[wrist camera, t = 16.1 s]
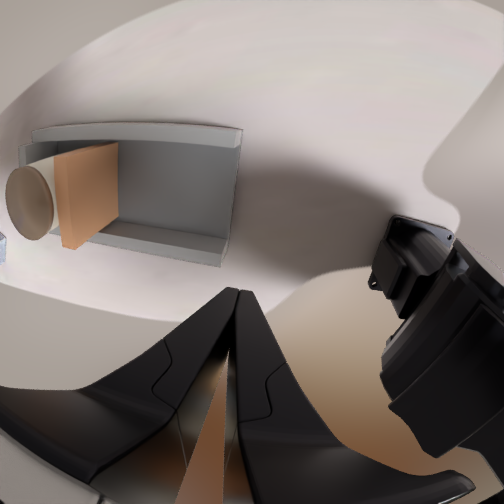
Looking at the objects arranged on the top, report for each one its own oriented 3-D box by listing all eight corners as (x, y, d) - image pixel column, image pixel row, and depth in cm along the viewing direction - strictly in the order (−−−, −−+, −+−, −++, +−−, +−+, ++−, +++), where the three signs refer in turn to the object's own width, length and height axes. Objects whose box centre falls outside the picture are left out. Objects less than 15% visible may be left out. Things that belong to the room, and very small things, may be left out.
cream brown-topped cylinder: (62, 148, 18) (2, 168, 12) (106, 147, 18) (43, 167, 12) (65, 202, 20) (11, 235, 14) (107, 207, 20) (53, 245, 14)
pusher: (118, 142, 18) (66, 156, 12) (118, 216, 20) (75, 249, 15) (105, 142, 18) (53, 156, 12) (106, 214, 20) (62, 246, 15)
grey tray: (243, 129, 17) (231, 132, 13) (227, 247, 22) (215, 280, 18) (54, 126, 18) (18, 134, 14) (59, 218, 22) (28, 239, 18)
